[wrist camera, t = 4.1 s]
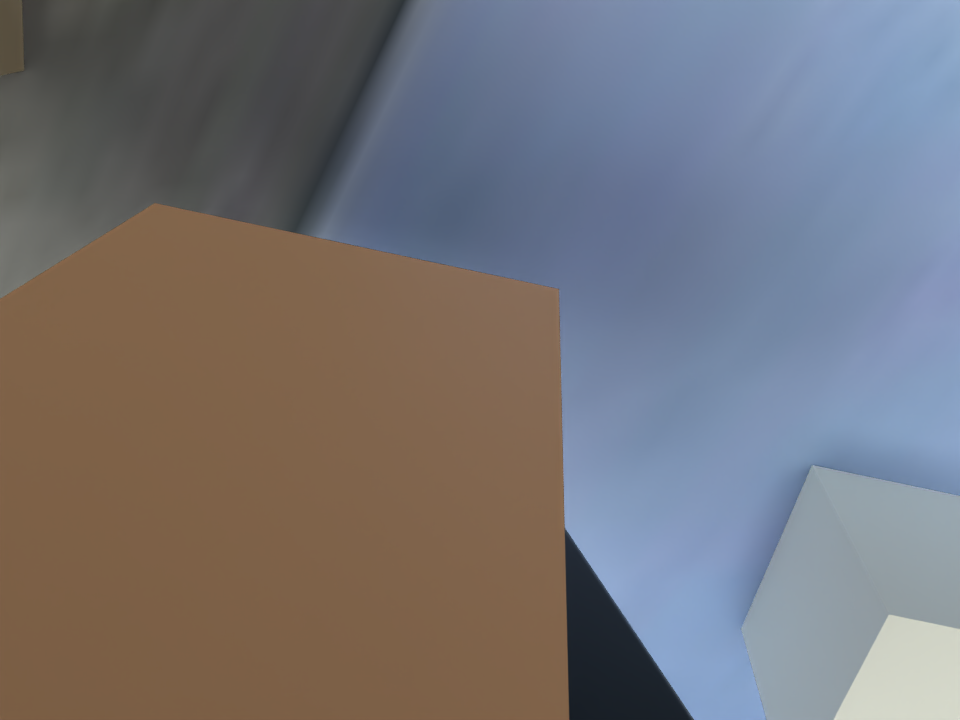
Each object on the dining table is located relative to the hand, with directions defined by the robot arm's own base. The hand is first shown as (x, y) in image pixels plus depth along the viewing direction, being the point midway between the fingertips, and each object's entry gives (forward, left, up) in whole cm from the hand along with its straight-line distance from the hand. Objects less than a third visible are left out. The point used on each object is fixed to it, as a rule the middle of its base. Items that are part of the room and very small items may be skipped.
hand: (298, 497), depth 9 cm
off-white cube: (-12, +6, -10) cm, 17 cm away
